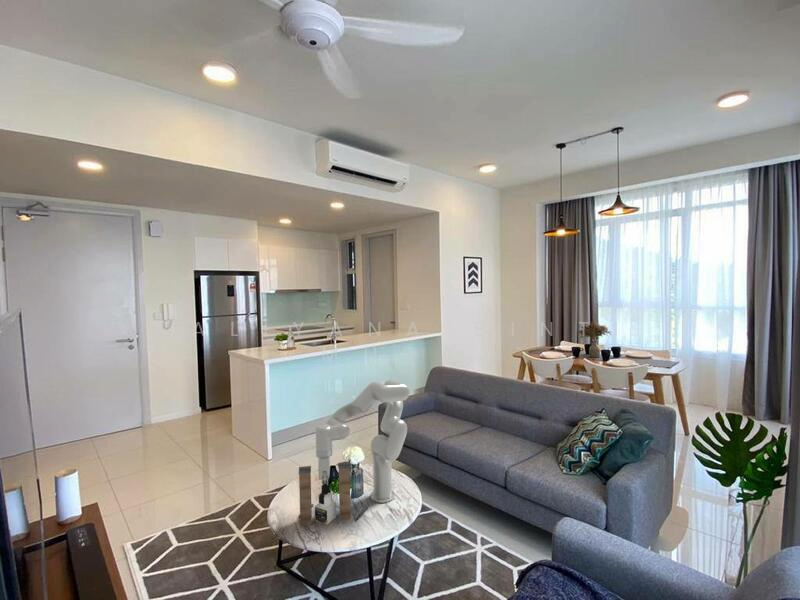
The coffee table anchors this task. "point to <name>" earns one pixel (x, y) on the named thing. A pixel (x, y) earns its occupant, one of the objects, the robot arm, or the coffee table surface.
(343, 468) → the post
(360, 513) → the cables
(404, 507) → the coffee table surface
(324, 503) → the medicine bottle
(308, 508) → the post
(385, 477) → the robot arm
